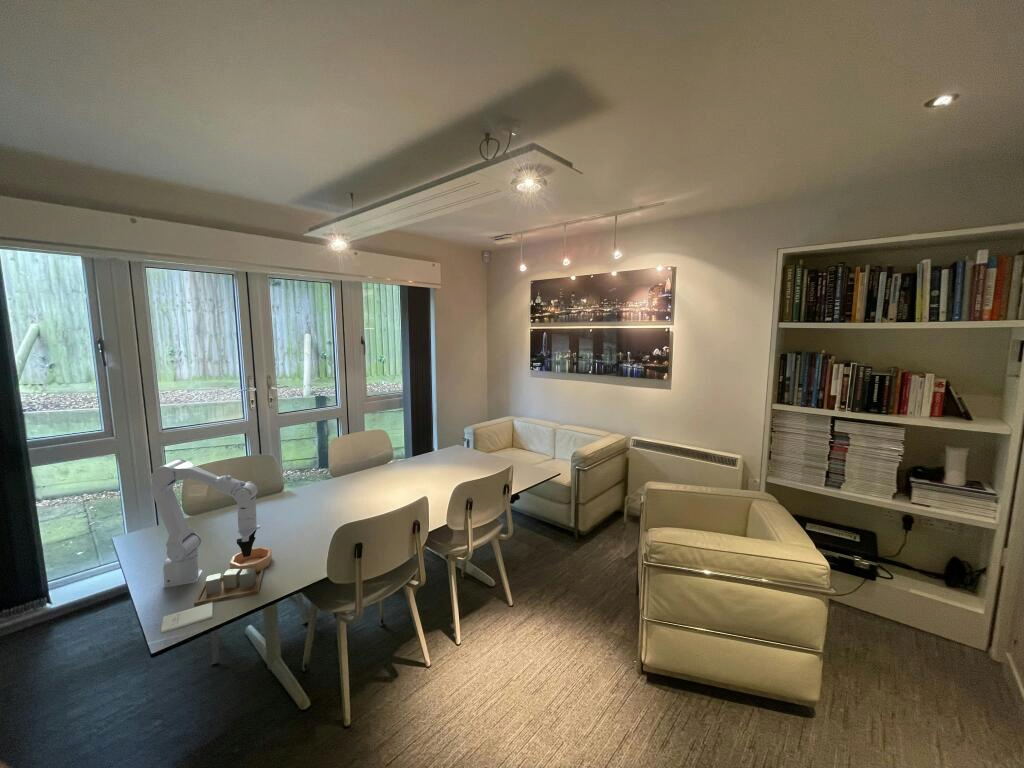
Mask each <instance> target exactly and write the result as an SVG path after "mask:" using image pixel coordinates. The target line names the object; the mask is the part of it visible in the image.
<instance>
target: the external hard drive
mask: <svg viewBox="0 0 1024 768" xmlns="http://www.w3.org/2000/svg"><path fill="white" fill-rule="evenodd" d="M213 604H214V602H209V603H204V604H200V605H199V606H195V607H192V608H188V609H185V610H181V611H178V612H174V613H171V614H168V615H165V616H163V617H162V621H161V622H162V623H161V629H160V634H163V633H166V632H171V631H173V630H176V629H180V628H184V627H186V626H190V625H193V624H196V623H200V622H202V621H205V620H209V619H212V618H213V611H214V609H213V607H214V605H213Z"/></svg>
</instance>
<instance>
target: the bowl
mask: <svg viewBox="0 0 1024 768" xmlns="http://www.w3.org/2000/svg"><path fill="white" fill-rule="evenodd" d="M272 558H273V557H272V549H270V548H268V547H265V546H258V547H252V551H251V555H250V556H248V557H243V554H242V551H240V552H238V553H236V554H233V556H232V558H231V559H230V562H229V569H240V573H241V571H242V569H250V568H255V571H258V570H264V569H265V568H267V567H268V566H270V565H271V561H272Z"/></svg>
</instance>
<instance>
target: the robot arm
mask: <svg viewBox="0 0 1024 768" xmlns="http://www.w3.org/2000/svg"><path fill="white" fill-rule="evenodd" d="M149 476H150V479H151V486H150V491H151V494H152V496H153V499H154V501H155V503H156V506H157V509H158V511H159V513H160V516H161V519H162V521H163V524H164V526H165V528H166V531H167V533H168V538H167V540H166V542H165V547H166V556H167V558H166V559H165V561H164V563H163V568H162V569H163V589H164V588H171V587H176V586H181V585H188V584H193V583H197V582H198V580H199V579H200V577H201V574H202V573H203V569H199V556H198V555H199V554H198V551H199V550H198V549H199V547H200V545H202V537H201V535H199V534H198V533H197V532H196V530H195V529H194V528H192V527H189V526H188V524H187V521H186V518H185V516H184V514H183V511H182V509H181V506H180V504H179V502H178V498H177V496H176V493H175V491H174V489H173V488H174V486H176V483H178V482H179V481H184V480H188V479H189V480H193V481H197V482H200V483H203V484H207V485H210V486H213V488H214V491H216V492H219V493H222V494H224V495H227V496H230V497H233V500H234V501H235V502H236V503H237V504H236V506H237V510H236V512H237V533H238V534H239V536H240V537H241V538H236V544H237V545H238V546H239V548H240V552H242V554H243V557H248V556H250V555H251V551H252V548H253V546H254V543H255V541H256V536H255V535H256V533H257V530H259V529H261V524H257V523H258V522H257V501H256V499H257V498H256V497H257V496H256V495H257V494H258V492H259V487H258V485H257V483H255V482H254V481H244V480H239V479H237V478H233V477H232V475H231V474H227V475H225V474H224V475H221V476H218V475H217V474H215V473H212V472H210V471H208V470H205V469H203V468H201V467H199V466H196V465H194V464H193V462H191V461H188V460H186V459H183V458H177V459H174V460H172V461H171V462H168V463H166V464H164V465H161V466H158V467H156V468H155V469H154V470H153V472H152V473H151V474H150V475H149Z"/></svg>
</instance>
